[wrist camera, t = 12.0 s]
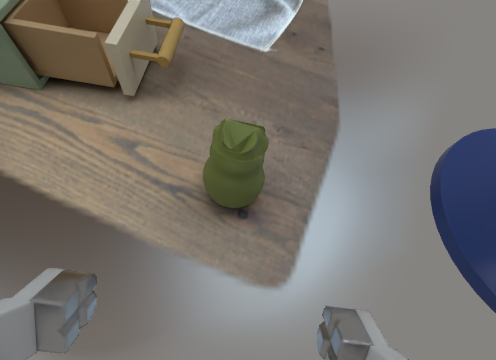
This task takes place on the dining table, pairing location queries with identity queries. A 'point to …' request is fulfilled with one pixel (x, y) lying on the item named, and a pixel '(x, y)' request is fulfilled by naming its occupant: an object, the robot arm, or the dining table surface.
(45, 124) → the dining table surface
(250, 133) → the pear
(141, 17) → the drawer
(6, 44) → the cabinet
